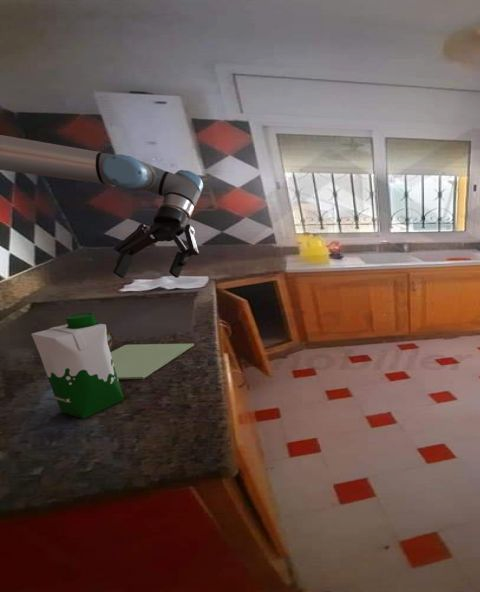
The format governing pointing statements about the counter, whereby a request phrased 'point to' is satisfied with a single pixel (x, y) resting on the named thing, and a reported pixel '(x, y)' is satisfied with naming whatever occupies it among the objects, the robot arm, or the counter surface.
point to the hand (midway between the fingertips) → (146, 275)
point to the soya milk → (79, 365)
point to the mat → (144, 358)
